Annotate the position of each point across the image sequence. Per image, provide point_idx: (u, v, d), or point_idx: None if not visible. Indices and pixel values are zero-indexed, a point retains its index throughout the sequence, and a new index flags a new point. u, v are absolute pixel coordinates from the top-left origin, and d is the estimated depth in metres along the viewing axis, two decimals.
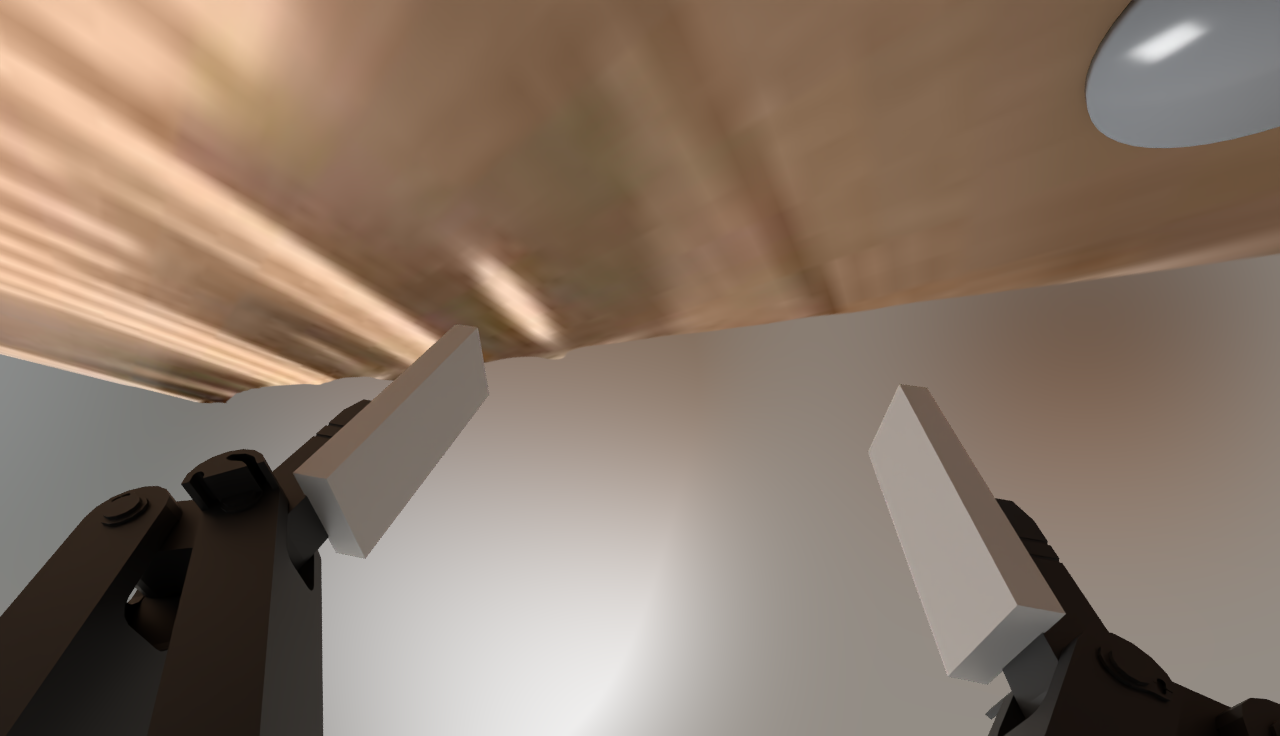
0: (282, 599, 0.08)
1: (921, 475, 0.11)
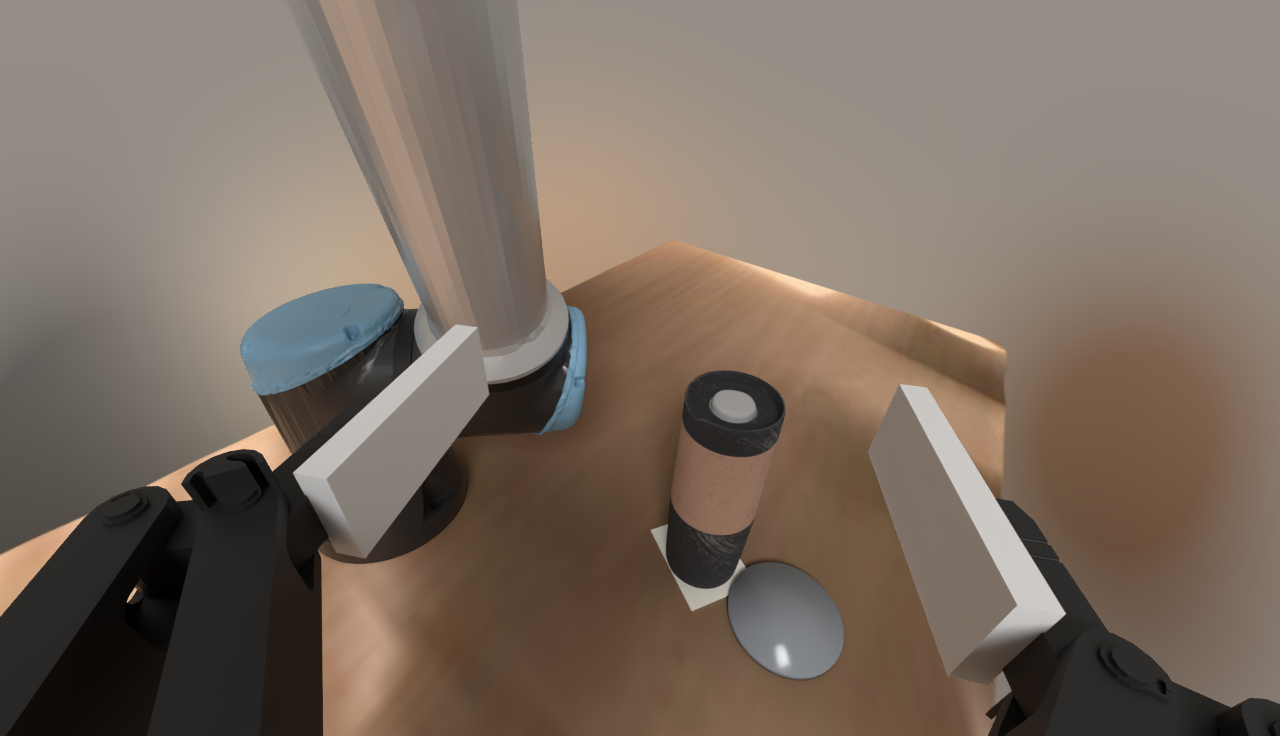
0: (282, 599, 0.08)
1: (921, 475, 0.11)
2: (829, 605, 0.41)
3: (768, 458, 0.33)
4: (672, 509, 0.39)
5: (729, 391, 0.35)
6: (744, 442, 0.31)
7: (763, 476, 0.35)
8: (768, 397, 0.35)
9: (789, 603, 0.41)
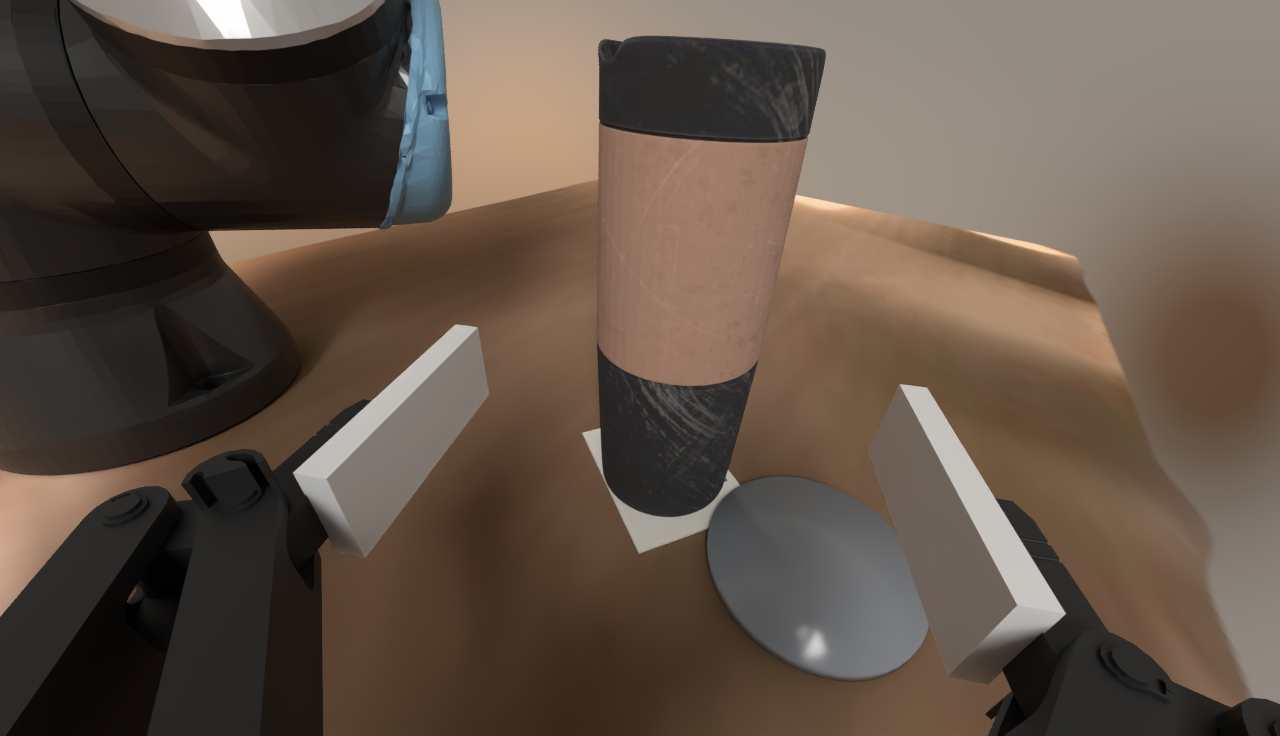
0: (282, 599, 0.08)
1: (921, 475, 0.11)
2: (894, 542, 0.22)
3: (786, 177, 0.15)
4: (599, 356, 0.21)
5: None
6: (729, 82, 0.12)
7: (774, 236, 0.16)
8: None
9: (820, 539, 0.22)
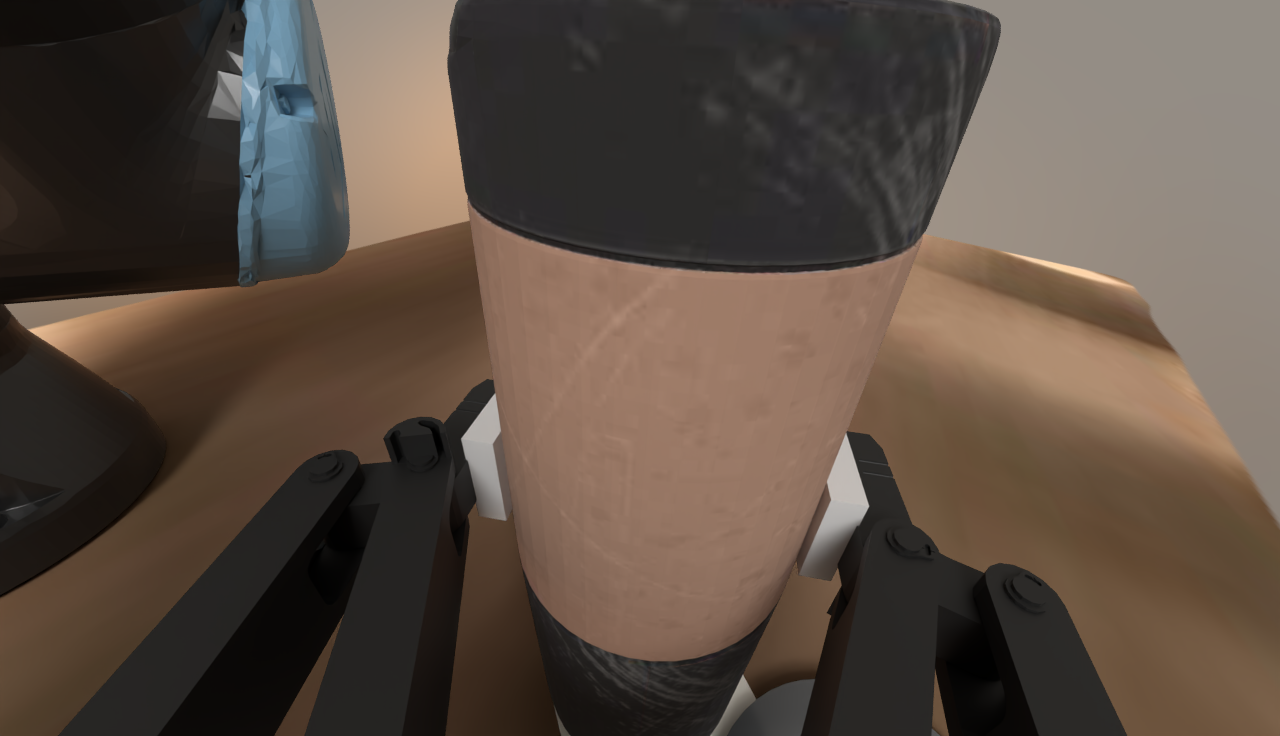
0: (440, 564, 0.08)
1: None
2: None
3: (881, 323, 0.06)
4: None
5: None
6: (761, 116, 0.04)
7: (841, 426, 0.08)
8: None
9: None
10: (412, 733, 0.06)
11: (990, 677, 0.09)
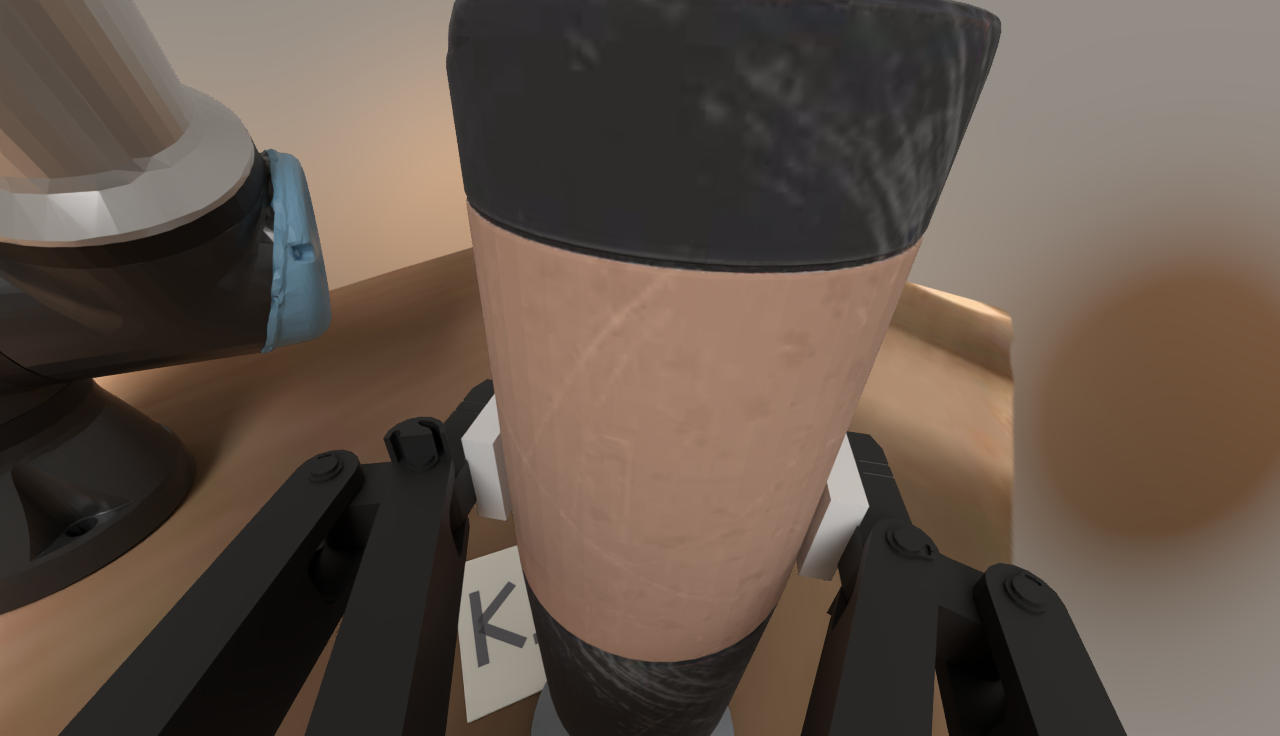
0: (440, 564, 0.08)
1: None
2: None
3: (881, 323, 0.06)
4: None
5: None
6: (760, 115, 0.04)
7: (841, 427, 0.08)
8: None
9: None
10: (412, 733, 0.06)
11: (989, 676, 0.09)
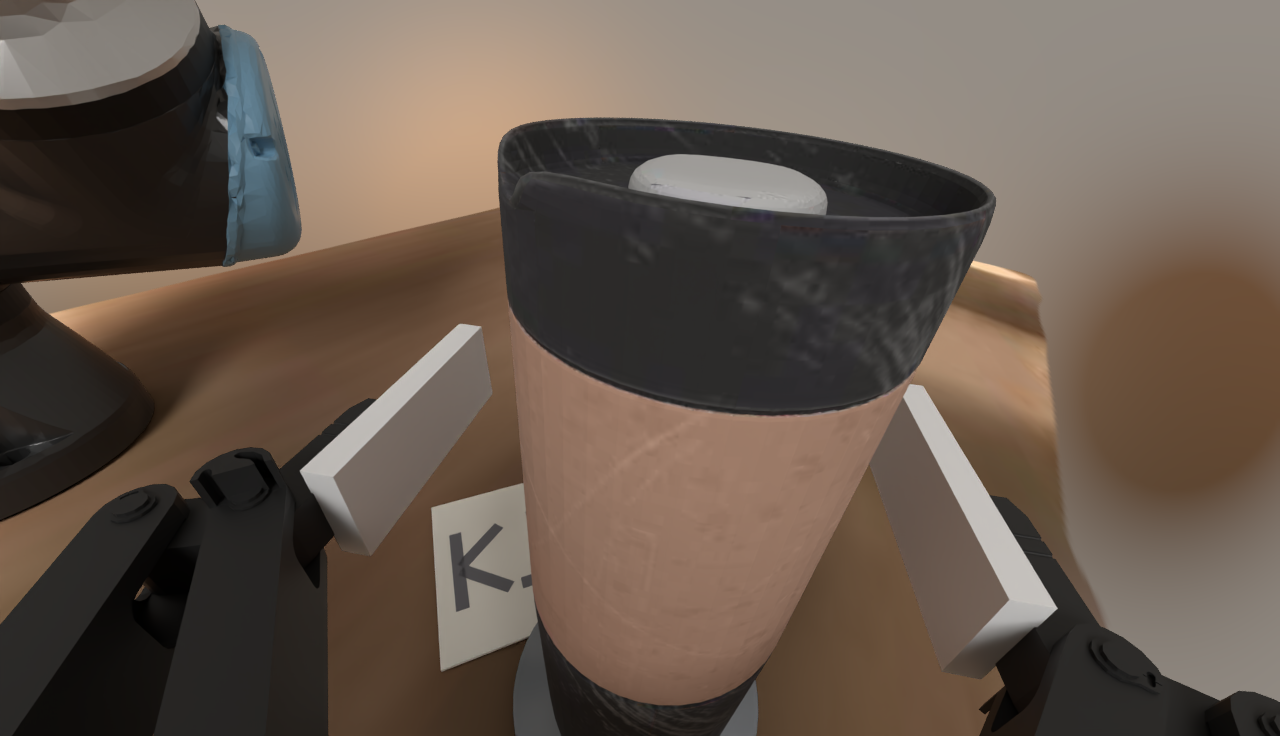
0: (288, 597, 0.08)
1: (916, 472, 0.11)
2: None
3: (881, 432, 0.07)
4: None
5: (709, 156, 0.08)
6: (789, 309, 0.05)
7: (842, 510, 0.08)
8: (862, 199, 0.09)
9: None
10: None
11: None
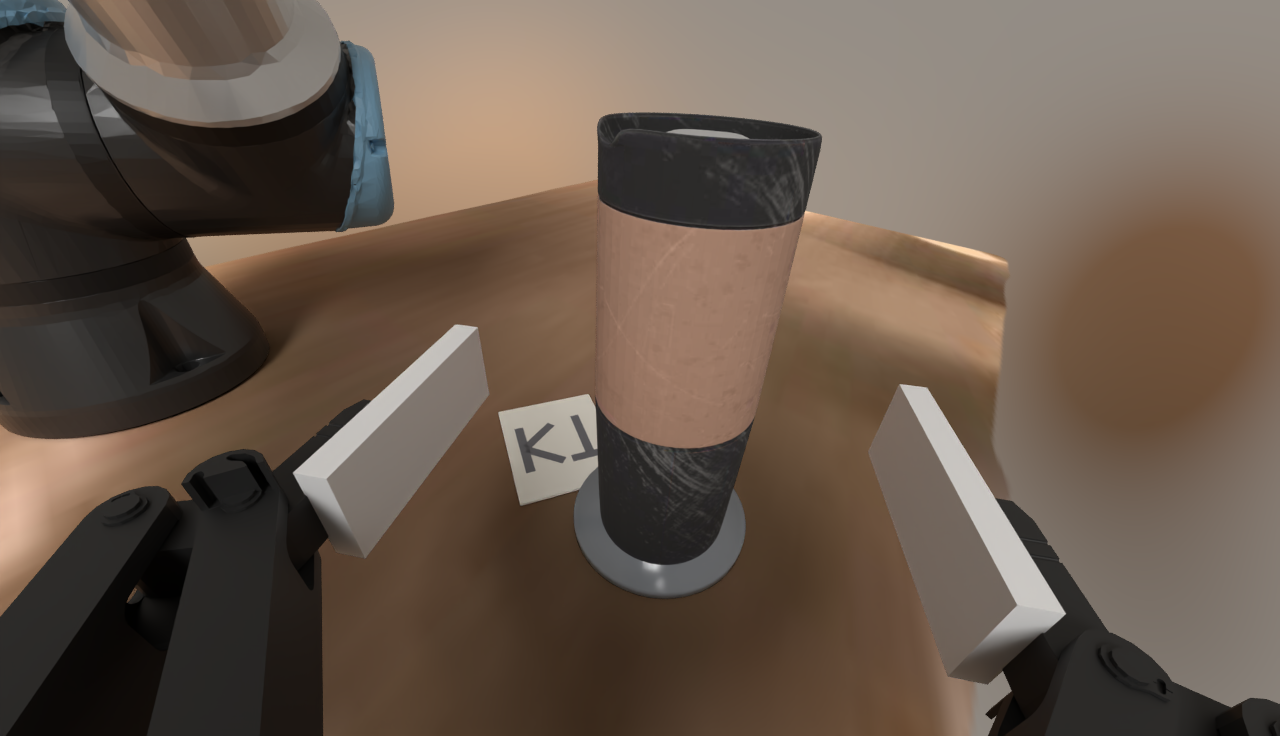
0: (282, 599, 0.08)
1: (921, 475, 0.11)
2: (730, 500, 0.27)
3: (781, 256, 0.15)
4: (596, 410, 0.21)
5: None
6: (724, 176, 0.13)
7: (770, 309, 0.16)
8: None
9: None
10: None
11: None
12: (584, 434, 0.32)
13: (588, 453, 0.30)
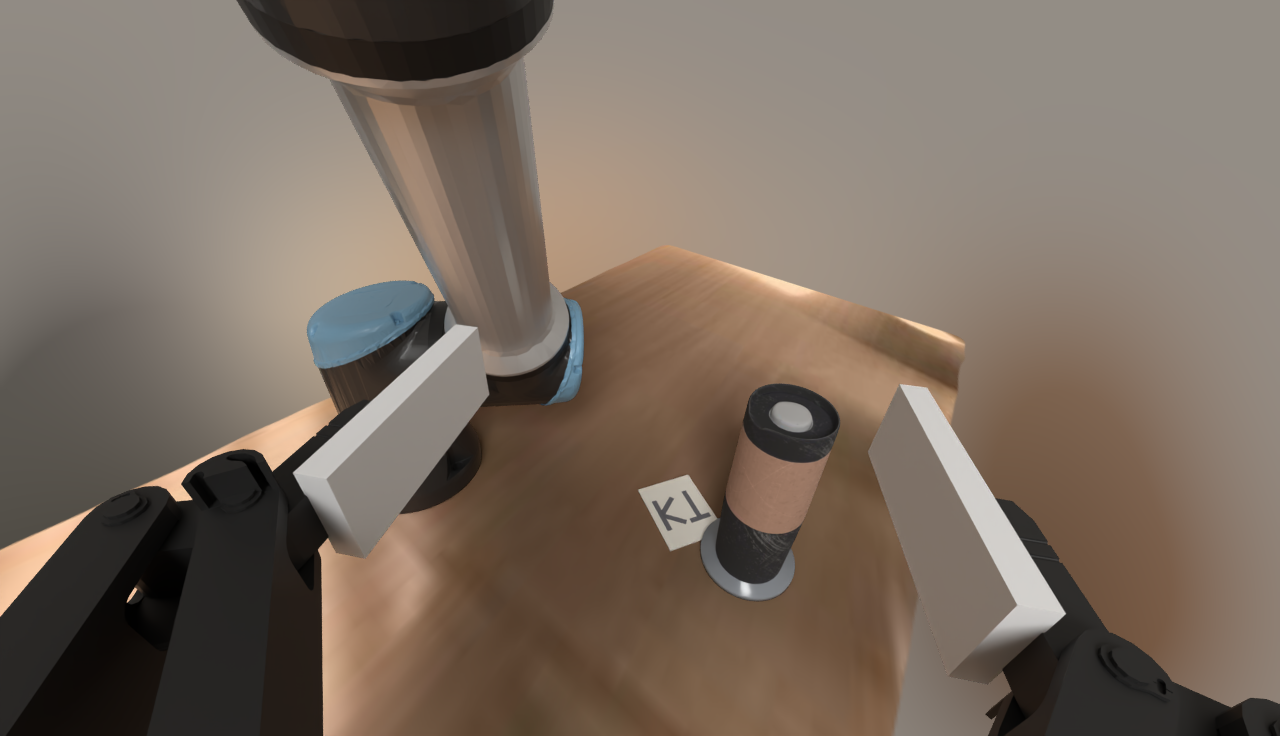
0: (282, 599, 0.08)
1: (921, 475, 0.11)
2: None
3: (823, 464, 0.37)
4: (728, 510, 0.43)
5: (786, 403, 0.38)
6: (806, 449, 0.35)
7: (817, 480, 0.38)
8: (821, 408, 0.39)
9: None
10: None
11: None
12: (693, 504, 0.54)
13: (698, 517, 0.52)
